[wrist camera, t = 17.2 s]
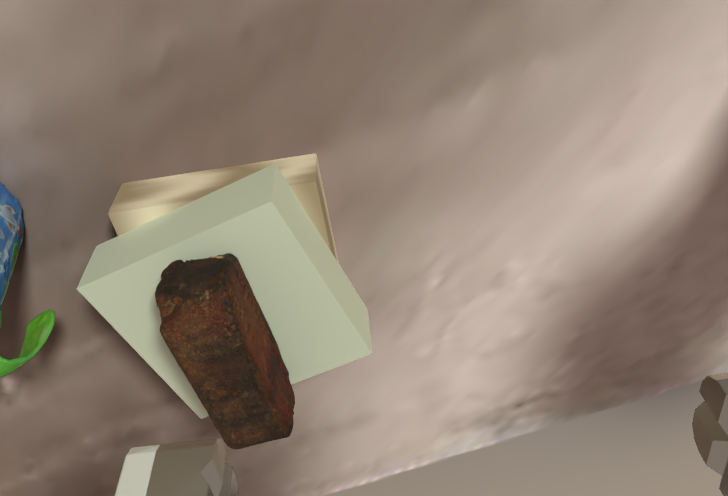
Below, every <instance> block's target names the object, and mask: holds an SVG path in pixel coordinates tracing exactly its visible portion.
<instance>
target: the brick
mask: <svg viewBox="0 0 728 496" xmlns="http://www.w3.org/2000/svg"><path fill="white" fill-rule="evenodd" d="M155 299H156V303H157V307H159V311H160V316H161V320H162V321H161V325H160V333H161V335H162V337H163V339H164V341H165V343H166V345H167V346H168V348H169V350H170V351H171V353H172V355H173V357H174V358H175V360H176V362H177V364H178V365H179V367H180V368H181V370H182V371H183V373H184V374H185V376H186V378H187V380H188V381H189V383H190V384H191V386H192V388H193V389H194V391H195V393H196V394H197V396H198V398H199V400H200V401H201V403H202V405H203V406H204V408H205V409H206V411H207V412H208V415H209V416H210V418H211V419H212V420H213V422H214V426H215V427H216V428H217V429H218V431H219V432H220V434H221V436H222V437H223V439H224V441H225V443H226V444H227V446H229V447H230V448H232V449H241V448H245V447H249V446H253V445H256V444H260V443H264V442H268V441H272V440H277V439H281V438H286V437H289V436H290V434H291V432H292V428H293V414H294V412H293V408H294V404H295V396H294V392H293V389H292V385H291V383H290V380H289V372H288V370H287V368H286V365H285V364H284V362H283V359H282V357H281V354H280V350H279V348H278V344H277V342H276V340H275V338H274V336H273V334H272V331H271V329H270V327H269V324H268V322H267V320H266V318H265V317H264V314H263V312H262V310H261V308H260V305H259V303H258V302H257V300H256V298H255V295H254V293H253V291H252V288H251V286H250V284H249V282H248V280H247V278H246V276H245V273H244V271H243V269H242V267H241V265H240V262H239V260H238V258H237V257H236V256H234V255H233V254H231V253H226V254H224V255H218V256H214V257H209V258H204V259H196V260H193V259H191V260H186V261H185V262H183V261H182V260H176V261H173V262H172V263H170V264H169V265H168V267H167V268H165V269H164V270H163V271H162V273H161V281H160V282H159V284H158V285H157V287H156V291H155Z"/></svg>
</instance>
